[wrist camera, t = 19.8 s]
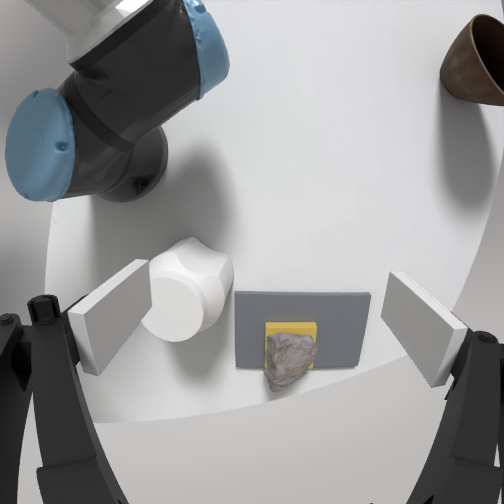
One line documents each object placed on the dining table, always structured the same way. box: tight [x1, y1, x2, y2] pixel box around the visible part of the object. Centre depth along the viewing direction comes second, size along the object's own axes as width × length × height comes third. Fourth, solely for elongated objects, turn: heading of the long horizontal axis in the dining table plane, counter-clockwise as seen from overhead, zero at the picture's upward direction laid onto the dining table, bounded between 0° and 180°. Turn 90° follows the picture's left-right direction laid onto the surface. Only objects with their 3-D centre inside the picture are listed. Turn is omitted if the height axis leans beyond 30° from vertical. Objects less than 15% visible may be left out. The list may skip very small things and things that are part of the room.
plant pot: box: [440, 14, 504, 106], centre depth 28 cm, size 15×15×16 cm
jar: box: [141, 237, 234, 342], centre depth 39 cm, size 12×10×15 cm
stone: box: [264, 332, 318, 392], centre depth 42 cm, size 10×8×6 cm
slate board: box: [235, 291, 371, 368], centre depth 47 cm, size 22×14×1 cm, turn 89°
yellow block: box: [265, 322, 317, 369], centre depth 46 cm, size 8×2×8 cm
